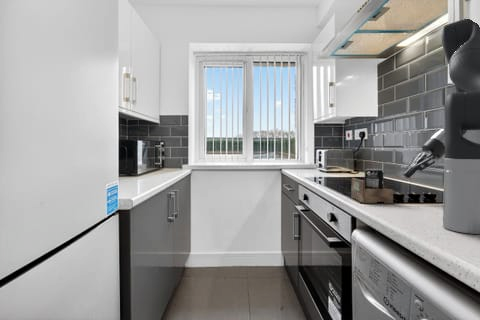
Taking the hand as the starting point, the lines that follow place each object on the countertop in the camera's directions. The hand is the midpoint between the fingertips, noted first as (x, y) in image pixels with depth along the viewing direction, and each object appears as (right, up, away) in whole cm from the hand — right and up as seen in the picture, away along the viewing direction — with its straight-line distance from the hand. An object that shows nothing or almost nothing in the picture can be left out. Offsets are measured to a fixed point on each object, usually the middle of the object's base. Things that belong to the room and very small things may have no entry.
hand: (405, 176), depth 116 cm
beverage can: (-12, -9, +1) cm, 15 cm away
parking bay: (-12, -9, +1) cm, 15 cm away
